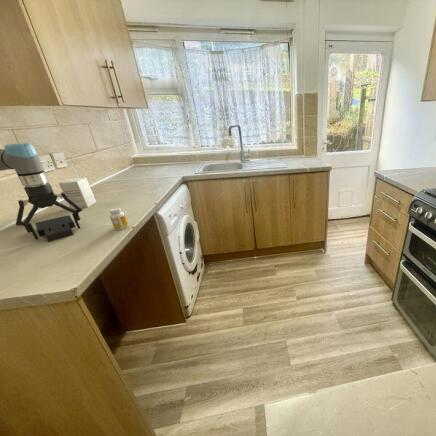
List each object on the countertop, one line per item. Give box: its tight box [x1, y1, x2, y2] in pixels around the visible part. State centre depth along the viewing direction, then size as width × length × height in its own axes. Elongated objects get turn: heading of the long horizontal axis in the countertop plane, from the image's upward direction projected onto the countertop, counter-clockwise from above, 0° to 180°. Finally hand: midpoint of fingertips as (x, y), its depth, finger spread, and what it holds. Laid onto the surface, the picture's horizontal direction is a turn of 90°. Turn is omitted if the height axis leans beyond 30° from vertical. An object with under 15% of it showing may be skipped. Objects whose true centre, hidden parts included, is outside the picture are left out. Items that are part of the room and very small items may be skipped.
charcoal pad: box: [35, 214, 76, 237], centre depth 109 cm, size 16×12×3 cm
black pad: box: [44, 223, 74, 243], centre depth 104 cm, size 10×8×3 cm
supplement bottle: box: [109, 207, 130, 231], centre depth 107 cm, size 5×5×10 cm
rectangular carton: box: [58, 177, 97, 210], centre depth 135 cm, size 9×9×15 cm
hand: (58, 233), depth 104 cm, fingers open, 13 cm apart
